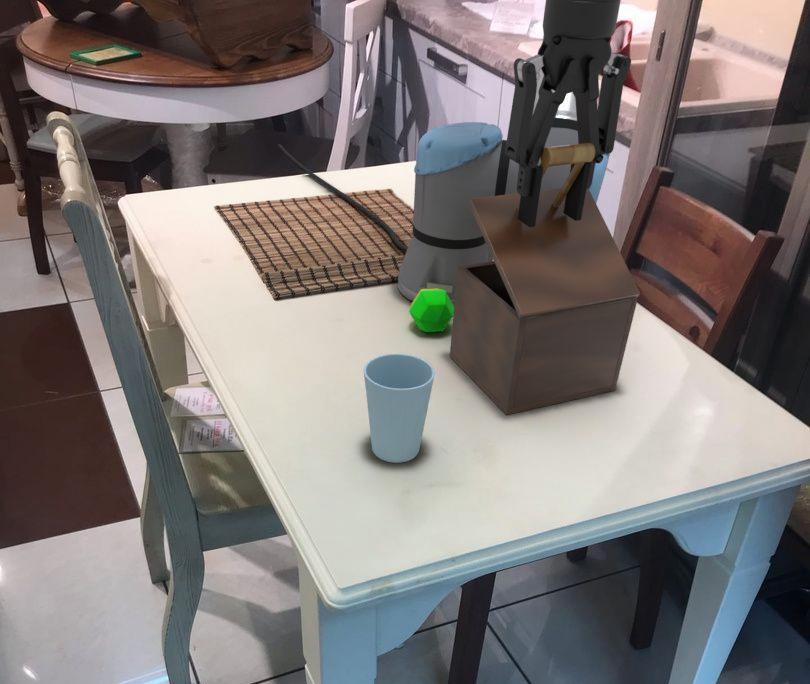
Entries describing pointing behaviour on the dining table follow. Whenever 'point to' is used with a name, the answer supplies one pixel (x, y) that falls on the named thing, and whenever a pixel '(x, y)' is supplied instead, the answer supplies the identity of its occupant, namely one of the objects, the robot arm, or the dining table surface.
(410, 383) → the cup
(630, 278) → the lid
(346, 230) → the dining table surface
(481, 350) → the bin
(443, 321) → the green faceted ball
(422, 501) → the dining table surface
